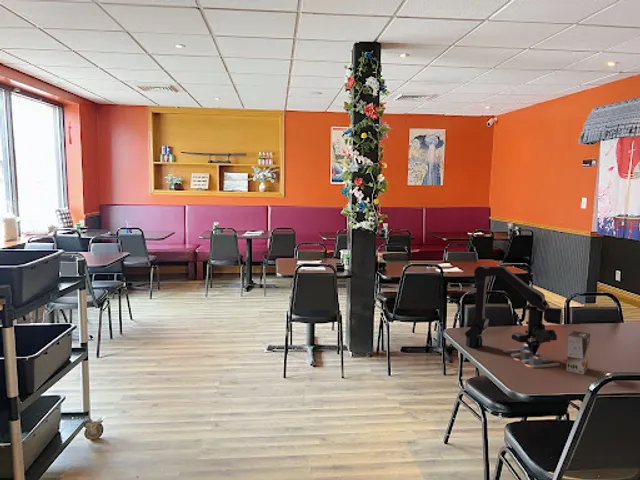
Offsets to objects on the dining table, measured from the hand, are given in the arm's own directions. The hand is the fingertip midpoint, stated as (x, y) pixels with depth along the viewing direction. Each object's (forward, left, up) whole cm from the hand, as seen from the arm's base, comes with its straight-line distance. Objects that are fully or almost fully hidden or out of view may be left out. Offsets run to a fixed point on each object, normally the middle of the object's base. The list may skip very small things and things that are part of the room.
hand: (533, 355), depth 202 cm
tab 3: (-5, -8, -1) cm, 9 cm away
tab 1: (+2, +7, -1) cm, 8 cm away
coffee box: (+9, -15, -3) cm, 18 cm away
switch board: (-1, 0, -3) cm, 3 cm away
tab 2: (-3, 0, -1) cm, 4 cm away
